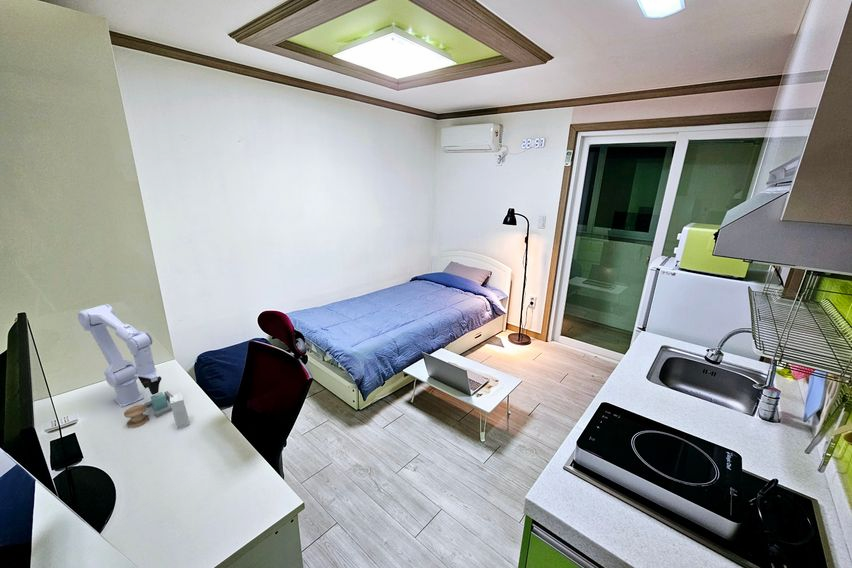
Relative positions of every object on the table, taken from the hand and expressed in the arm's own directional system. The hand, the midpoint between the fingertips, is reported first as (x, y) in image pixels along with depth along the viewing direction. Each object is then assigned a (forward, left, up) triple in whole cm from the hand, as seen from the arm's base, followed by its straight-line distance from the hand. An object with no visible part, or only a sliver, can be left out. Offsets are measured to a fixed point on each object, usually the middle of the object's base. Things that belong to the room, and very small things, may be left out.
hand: (151, 390), depth 145 cm
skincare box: (+19, +3, -10) cm, 21 cm away
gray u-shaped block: (+1, +2, -9) cm, 9 cm away
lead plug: (+1, +2, -9) cm, 10 cm away
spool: (+4, -7, -9) cm, 12 cm away
